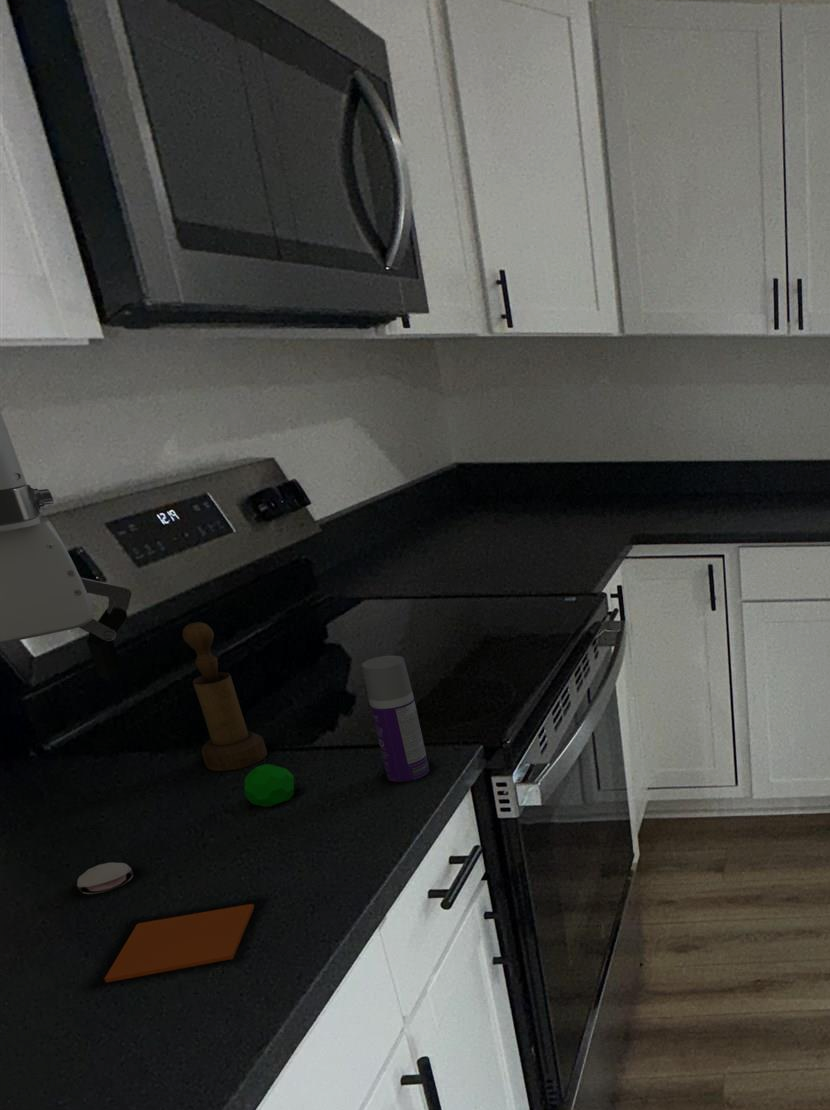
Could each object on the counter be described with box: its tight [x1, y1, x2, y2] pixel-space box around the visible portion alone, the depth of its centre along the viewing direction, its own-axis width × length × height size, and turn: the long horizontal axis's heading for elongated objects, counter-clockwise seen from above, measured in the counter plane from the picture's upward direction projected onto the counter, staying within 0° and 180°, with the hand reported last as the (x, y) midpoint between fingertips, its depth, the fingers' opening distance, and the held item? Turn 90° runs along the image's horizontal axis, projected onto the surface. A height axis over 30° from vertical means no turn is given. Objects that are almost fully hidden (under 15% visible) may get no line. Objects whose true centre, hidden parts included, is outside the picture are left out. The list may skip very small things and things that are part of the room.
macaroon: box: [76, 861, 134, 895], centre depth 90 cm, size 4×5×2 cm
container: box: [361, 655, 430, 783], centre depth 109 cm, size 5×5×15 cm
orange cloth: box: [104, 903, 255, 983], centre depth 82 cm, size 10×9×1 cm
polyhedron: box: [244, 763, 295, 808], centre depth 105 cm, size 5×5×5 cm
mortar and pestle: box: [181, 621, 268, 772], centre depth 113 cm, size 7×6×18 cm
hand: (49, 694), depth 87 cm, fingers open, 9 cm apart
